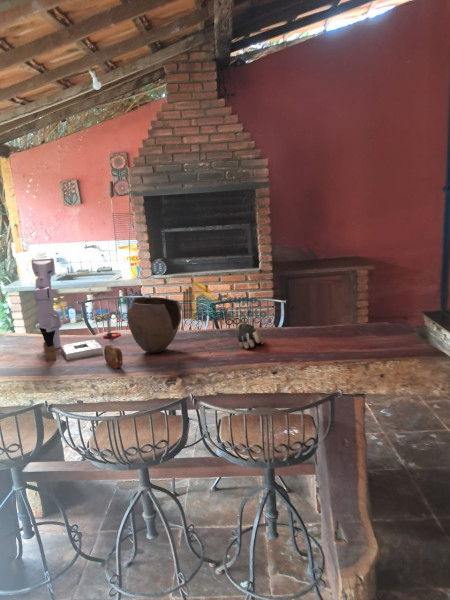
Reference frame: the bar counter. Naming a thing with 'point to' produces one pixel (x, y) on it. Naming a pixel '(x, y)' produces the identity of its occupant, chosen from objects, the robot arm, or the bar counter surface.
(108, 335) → the tow hook
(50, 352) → the pin
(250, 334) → the glove
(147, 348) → the clay pot
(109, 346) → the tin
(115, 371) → the bar counter surface
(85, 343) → the collar
